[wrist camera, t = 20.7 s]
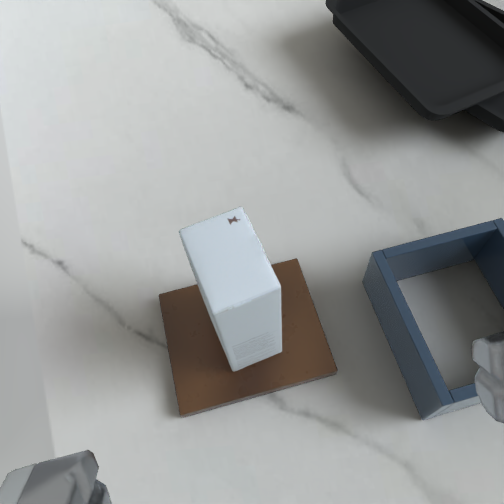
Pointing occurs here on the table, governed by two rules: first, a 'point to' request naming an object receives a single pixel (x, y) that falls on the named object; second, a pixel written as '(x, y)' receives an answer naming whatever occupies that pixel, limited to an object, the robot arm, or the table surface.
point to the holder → (401, 319)
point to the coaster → (214, 358)
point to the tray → (432, 52)
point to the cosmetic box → (236, 286)
